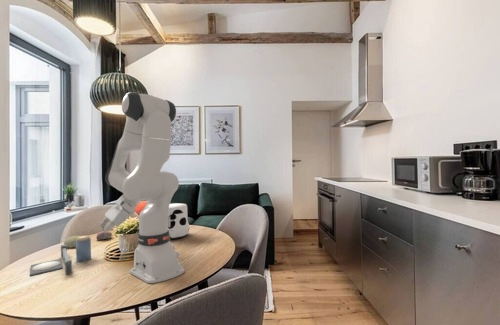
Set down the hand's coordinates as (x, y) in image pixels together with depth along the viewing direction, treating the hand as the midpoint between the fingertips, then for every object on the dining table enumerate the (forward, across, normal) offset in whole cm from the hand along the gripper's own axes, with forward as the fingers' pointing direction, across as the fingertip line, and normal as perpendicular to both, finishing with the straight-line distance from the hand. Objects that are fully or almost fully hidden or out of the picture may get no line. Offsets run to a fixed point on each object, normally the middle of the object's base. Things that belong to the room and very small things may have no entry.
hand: (102, 228), depth 117 cm
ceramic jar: (+14, 0, +3) cm, 15 cm away
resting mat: (+23, 0, -6) cm, 24 cm away
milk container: (-17, -4, +34) cm, 39 cm away
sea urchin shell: (+15, -26, +3) cm, 30 cm away
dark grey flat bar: (+19, +2, -1) cm, 19 cm away
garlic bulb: (+5, -28, +13) cm, 31 cm away
